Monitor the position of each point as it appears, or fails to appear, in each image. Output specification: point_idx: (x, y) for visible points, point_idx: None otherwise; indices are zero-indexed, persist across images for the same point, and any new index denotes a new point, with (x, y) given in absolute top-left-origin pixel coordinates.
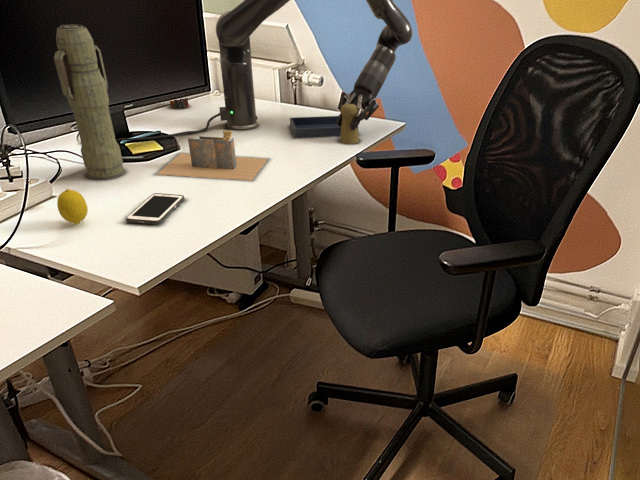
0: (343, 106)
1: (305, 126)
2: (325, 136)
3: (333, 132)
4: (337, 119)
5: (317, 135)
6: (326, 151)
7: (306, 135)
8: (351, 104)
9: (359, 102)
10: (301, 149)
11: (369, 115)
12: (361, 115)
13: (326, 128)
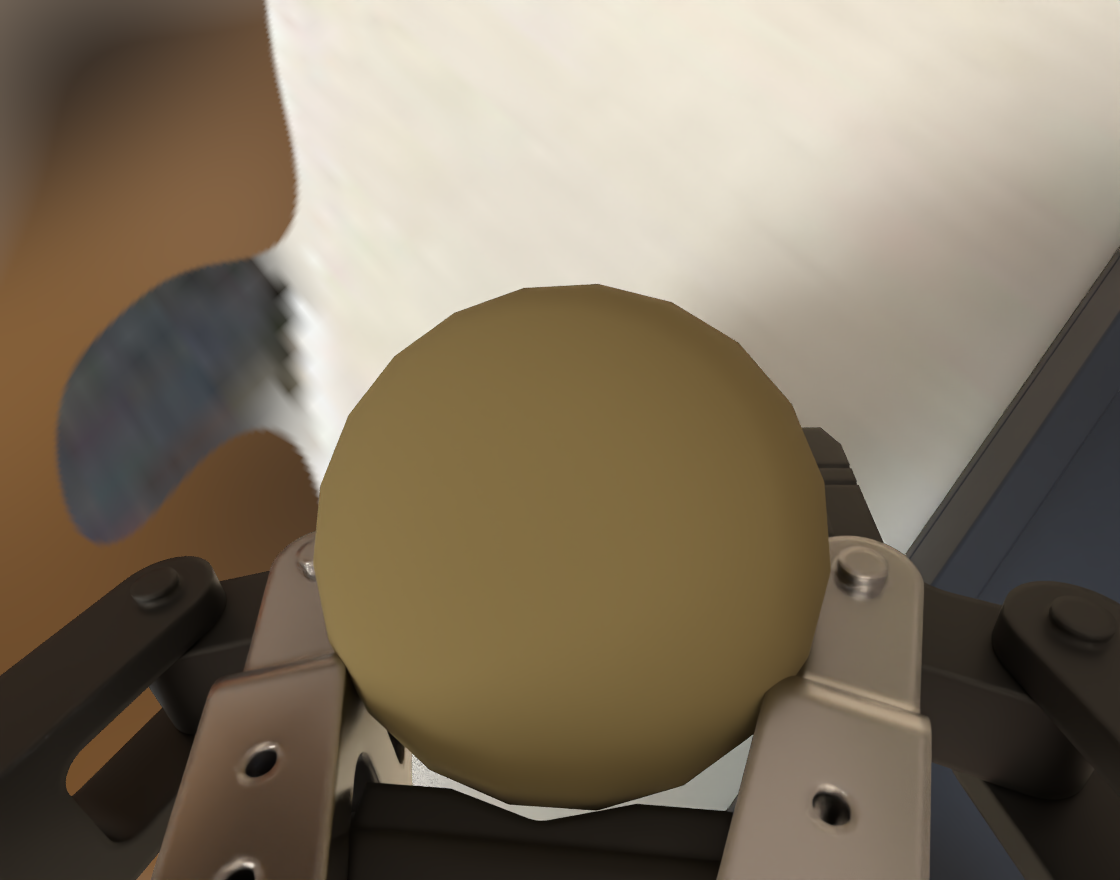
0: (611, 313)
1: None
2: (967, 468)
3: (923, 551)
4: (829, 451)
5: (1034, 376)
6: (559, 141)
7: (1118, 258)
8: (478, 582)
9: (241, 866)
10: (783, 2)
11: (123, 756)
12: (247, 599)
13: (1013, 460)
